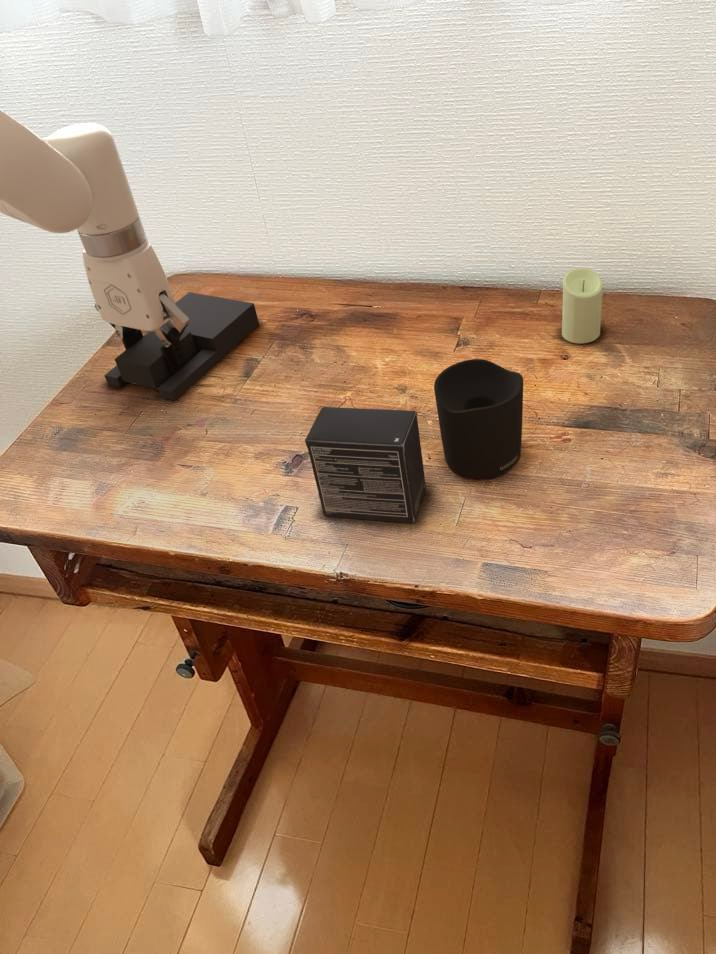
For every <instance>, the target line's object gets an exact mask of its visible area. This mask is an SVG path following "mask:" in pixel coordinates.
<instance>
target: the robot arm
mask: <svg viewBox="0 0 716 954" xmlns="http://www.w3.org/2000/svg"><path fill="white" fill-rule="evenodd" d="M0 213H1V214H3V215H5V216H7V217H10V218H13V219H15V220H17V221H20V222H23V223H26V224H28V225H31V226H34V227H36V228H38V229H41V230H43V231H46V232H48V233H53V234H66V233H70V232H73V231H77V234H78V236H79V239H80V241H81V243H82V247H83V249H82V250H81V251H82V260H83V265H84V269H85V274H86V277H87V281H88V285H89V288H90V291H91V294H92V297H93V300H94V302H95V304H94V308H95V309H96V311H97V312H98V313H99V315H100V317H101V318H102V320H104V322H106V323H108V324H109V325H110V326H111V327H113V329H114V330H115V331H114V332H115V334H116V336H117V337H118V338H120V339H121V342H122V344H123V347H124V349H125V350H127V349H128V348H129V347H131V346H132V345H133V344H134V343H136V342H137V341H138V340H140V339H141V338H142V337H143V336H144V335H143V331H145V332H149V331H150V332H155V334H156V335H157V337H158V338H159V340H160V341H161V343H162V344H163V346H161V347H160V348H161V352H162V355H163V357H164V359H165V362H166V365H167V368H168V371H169V372H171V373H174V372H175V371H177V370H178V369H179V368H180V367H181V366H182V365H184V364H185V363H186V357H185V354H184V351H183V348H182V345H181V342H180V339H179V338H180V337H182V333H183V332H184V330H185V328H186V327H187V326H188V324H189V323H190V320H189V318H188V317H187V316H186V315H185V314H184V313H183V312H182V311H181V310H180V309H179V308H178V307H177V306H176V299H175V297H174V296H175V295H174V294H173V290H172V288H171V286H170V283H169V280H168V277H167V275H166V273H165V271H164V268H163V266H162V264H161V262H160V260H159V258H158V256H157V254H156V251H155V250H154V248H153V246H152V243H150V242H148V238H147V234H146V231H145V229H144V226H143V222H142V220H141V216H140V213H139V210H138V207H137V205H136V202H135V198H134V195H133V193H132V189H131V187H130V183H129V181H128V178H127V175H126V172H125V169H124V166H123V163H122V159H121V157H120V154H119V151H118V148H117V145H116V142H115V139H114V137H113V134H112V133H111V131H109V129H108V128H106V127H105V126H104V125H101V124H98V123H93V122H86V123H84V122H83V123H77V124H71V125H68V126H65V127H62V128H60V129H58V130H57V131H55V132H53V133H52V134H50V135H49V136H46V137H42V138H41V137H40V136H39V135H37V134H36V133H35V132H34V131H32V130H31V129H30V128H29V127H27V126H26V125H24V124H23V123H21V122H20V121H18V120H16V118H14V117H12V116H11V115H10V114H8V113H7V112H6V111H3V110H2V109H1V108H0ZM165 324H166V326H167V327H168V329H169V332H168V333H167V335H166V333H165V332H164V330H163V328H162V327H163V326H164V325H165Z"/></svg>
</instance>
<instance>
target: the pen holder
mask: <svg viewBox="0 0 716 954" xmlns="http://www.w3.org/2000/svg"><path fill="white" fill-rule="evenodd" d="M433 391H434V396H435V404H436V410H437V411H436V412H437V416H438V417H437V419H438V424H439V430H440V439H441V443H442V450H443V456H444V461H445V463H446V465H447V466H448V468H449V469H450V470H452V471H453V472H454V473H455V474H457V475H459V476H462V477H463V478H467V479H472V480H488V479H494V478H498V477H501V476H503V475H505V474H507V473H508V472H510V471H511V470H512V469H513V468H514V467H515V466H516V465H517V464H518V463H519V461H520V458H521V454H522V453H521V452H522V438H523V437H522V436H523V413H524V411H523V409H524V407H523V406H524V377H523V375H522V374H521V373H519V372H516V371H514V370H513V371H512V370H509V369H506V368H504V367H502V366H501V365H499V364H497V363H495V362H493V361H490V360H488V359H482V358H472V359H466V360H462V361H459V362H456V363H453V364H451V365H449V366H448V367H446V368H445V369H443V370H442V371H441V372H440V373H439V374H438V375H437V377H436V378H435V381H434V383H433Z"/></svg>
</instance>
